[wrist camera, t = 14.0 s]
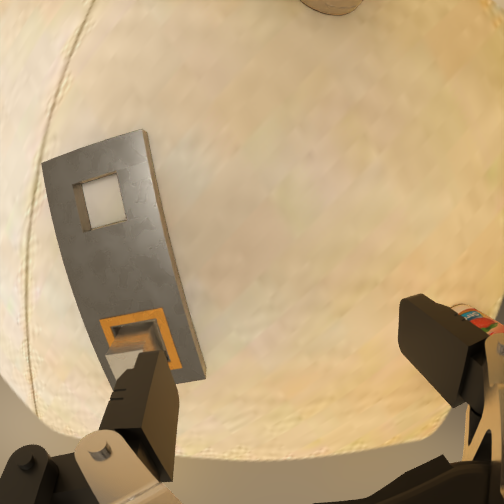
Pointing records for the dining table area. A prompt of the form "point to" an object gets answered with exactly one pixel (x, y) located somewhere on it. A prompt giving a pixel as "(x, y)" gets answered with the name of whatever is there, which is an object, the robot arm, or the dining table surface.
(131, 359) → the grey square peg
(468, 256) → the dining table surface
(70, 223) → the grey board with holes
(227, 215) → the dining table surface
